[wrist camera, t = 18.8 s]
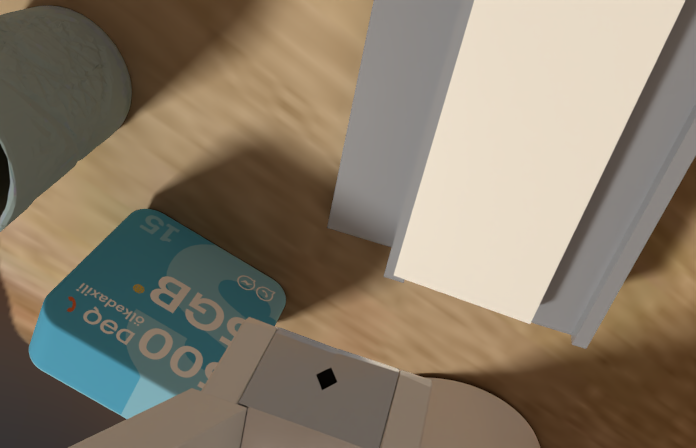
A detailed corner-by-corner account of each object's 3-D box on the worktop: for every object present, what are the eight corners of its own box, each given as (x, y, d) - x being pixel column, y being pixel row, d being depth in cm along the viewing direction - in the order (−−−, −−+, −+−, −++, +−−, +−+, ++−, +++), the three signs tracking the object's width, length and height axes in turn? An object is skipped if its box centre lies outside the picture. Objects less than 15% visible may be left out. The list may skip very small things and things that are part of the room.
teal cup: (29, 144, 44) (-118, 239, 34) (-30, -11, 39) (-223, 50, 29) (162, 146, 41) (44, 250, 32) (118, -19, 36) (-40, 44, 26)
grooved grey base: (581, 295, 39) (586, 349, 35) (331, 219, 41) (309, 262, 37) (786, -96, 27) (828, -79, 23) (414, -182, 29) (394, -181, 25)
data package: (293, 289, 45) (224, 422, 35) (268, 327, 48) (197, 461, 38) (143, 199, 44) (29, 310, 34) (125, 243, 47) (15, 357, 37)
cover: (531, 314, 35) (530, 323, 35) (396, 267, 37) (393, 275, 36) (715, -74, 24) (719, -71, 23) (512, -124, 25) (510, -122, 25)
